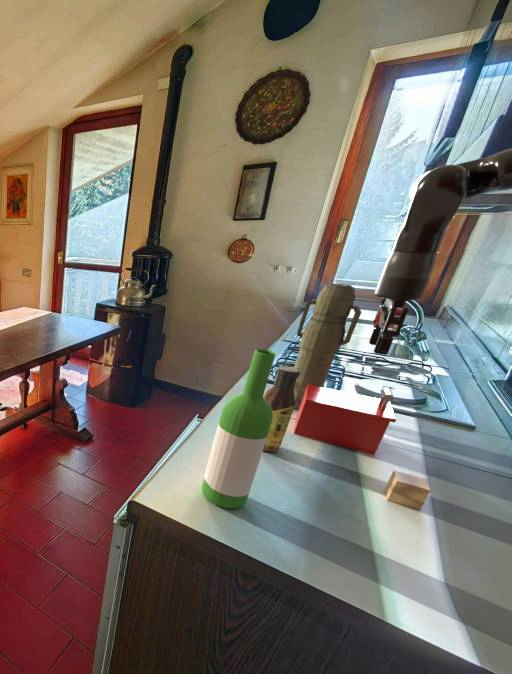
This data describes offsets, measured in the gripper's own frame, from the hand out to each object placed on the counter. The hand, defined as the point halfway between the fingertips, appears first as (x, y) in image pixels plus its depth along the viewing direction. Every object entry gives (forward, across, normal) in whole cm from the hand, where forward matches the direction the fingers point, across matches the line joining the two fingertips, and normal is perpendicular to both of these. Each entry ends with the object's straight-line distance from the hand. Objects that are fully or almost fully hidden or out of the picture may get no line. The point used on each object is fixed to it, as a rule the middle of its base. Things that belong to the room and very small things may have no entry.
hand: (377, 349), depth 87 cm
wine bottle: (+24, -42, +21) cm, 53 cm away
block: (+24, -21, -8) cm, 33 cm away
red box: (+24, +3, +2) cm, 24 cm away
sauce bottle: (+24, -15, +16) cm, 32 cm away
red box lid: (+15, +3, +1) cm, 15 cm away
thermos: (+24, +19, +9) cm, 32 cm away
